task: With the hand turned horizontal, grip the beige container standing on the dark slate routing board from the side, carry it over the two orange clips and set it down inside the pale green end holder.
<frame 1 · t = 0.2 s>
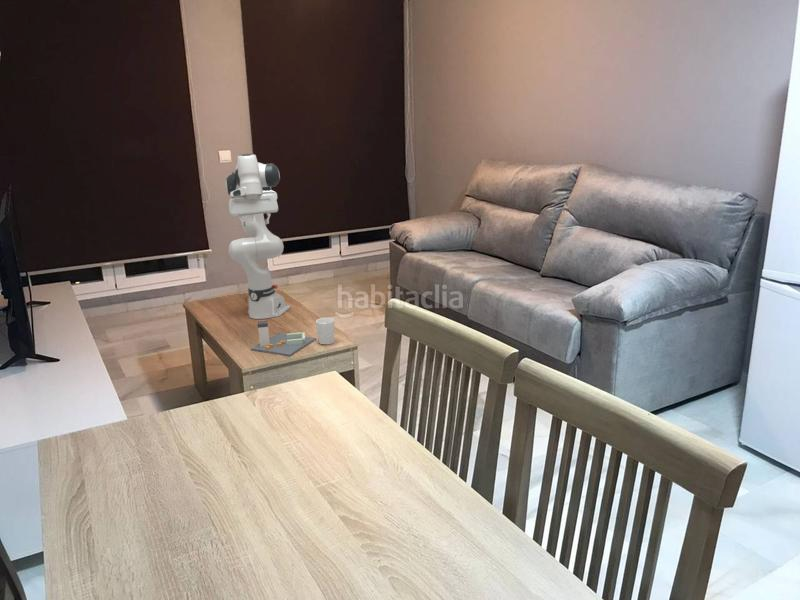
hand: (255, 225, 273), 52 cm above the table, tool tilted 20°, fingers open, 8 cm apart
routing board: (284, 344, 283), on the table
white cup: (326, 342, 284), on the table
beige container: (265, 344, 282), point 1 cm above the table, touching routing board
end holder: (295, 342, 285), resting on routing board
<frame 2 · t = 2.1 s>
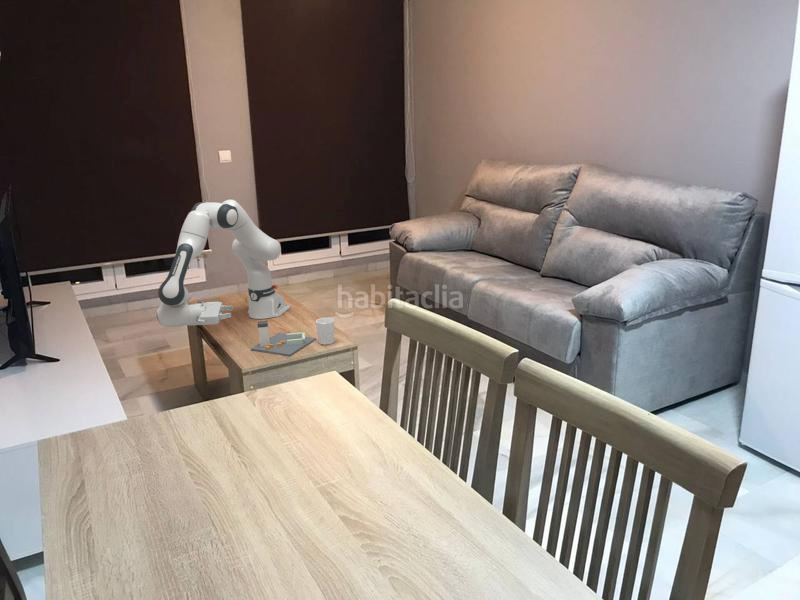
hand: (231, 311, 275), 17 cm above the table, tool horizontal, fingers open, 8 cm apart
nothing on the table moved.
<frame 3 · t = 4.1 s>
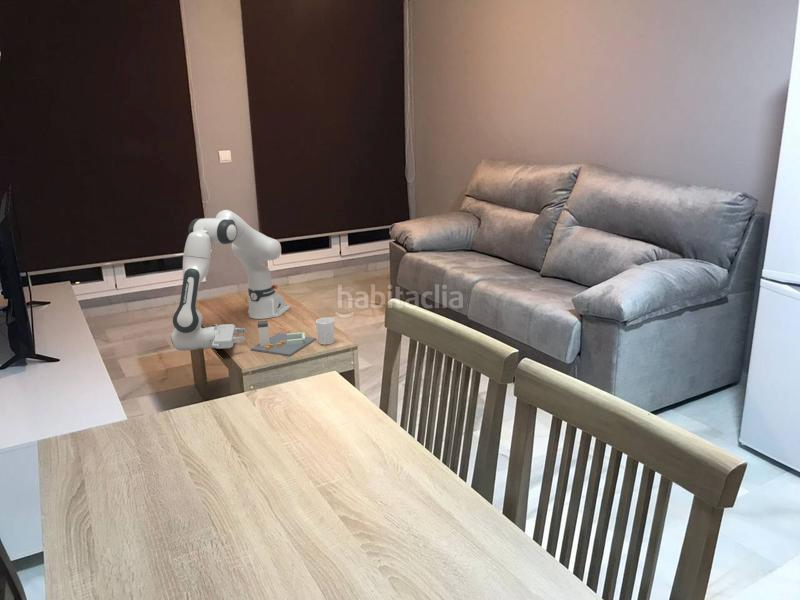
hand: (245, 334, 279), 6 cm above the table, tool horizontal, fingers open, 8 cm apart
nothing on the table moved.
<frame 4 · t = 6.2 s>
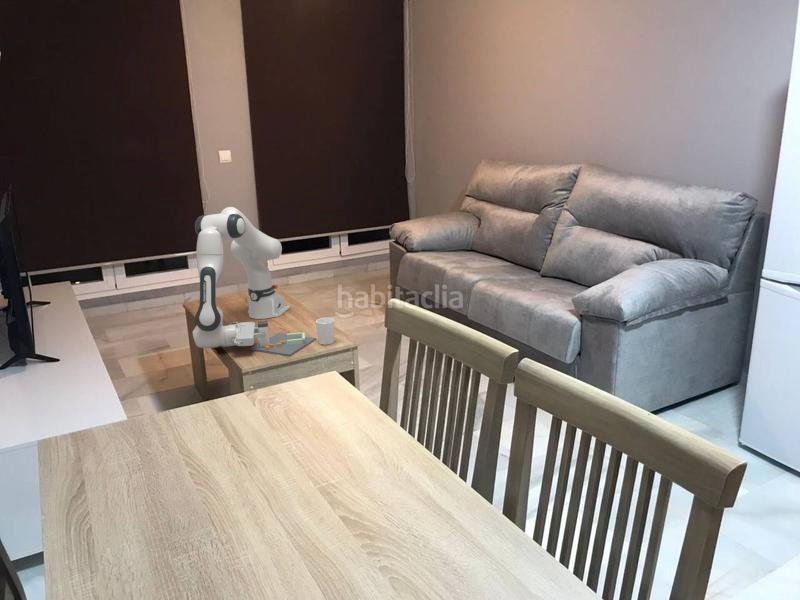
hand: (265, 332, 280), 6 cm above the table, tool horizontal, fingers closed on beige container, 4 cm apart
beige container: (265, 344, 282), point 1 cm above the table, touching gripper, routing board
everything else where it was.
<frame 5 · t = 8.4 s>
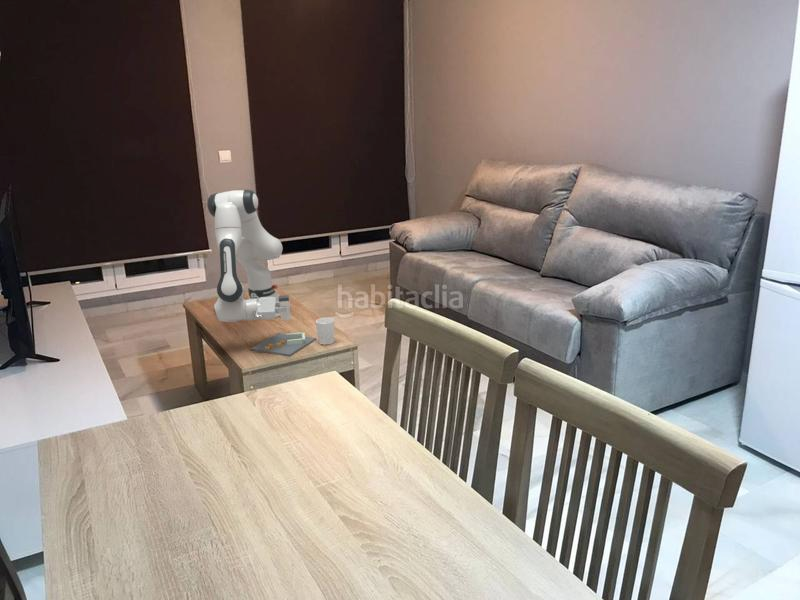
hand: (286, 306, 279), 17 cm above the table, tool horizontal, fingers closed on beige container, 4 cm apart
beige container: (285, 318, 281), point 11 cm above the table, touching gripper
everything else where it was.
when the fingers open (8 cm above the table, at t = 10.8 s): beige container drops 1 cm, resting on routing board.
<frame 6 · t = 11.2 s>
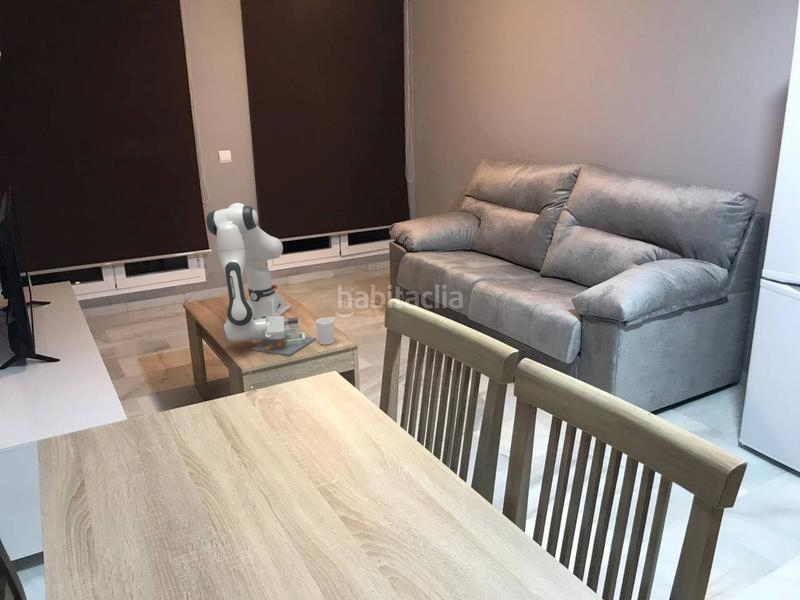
hand: (295, 325, 283), 8 cm above the table, tool horizontal, fingers open, 8 cm apart
beige container: (295, 340, 285), point 1 cm above the table, touching routing board
everything else where it was.
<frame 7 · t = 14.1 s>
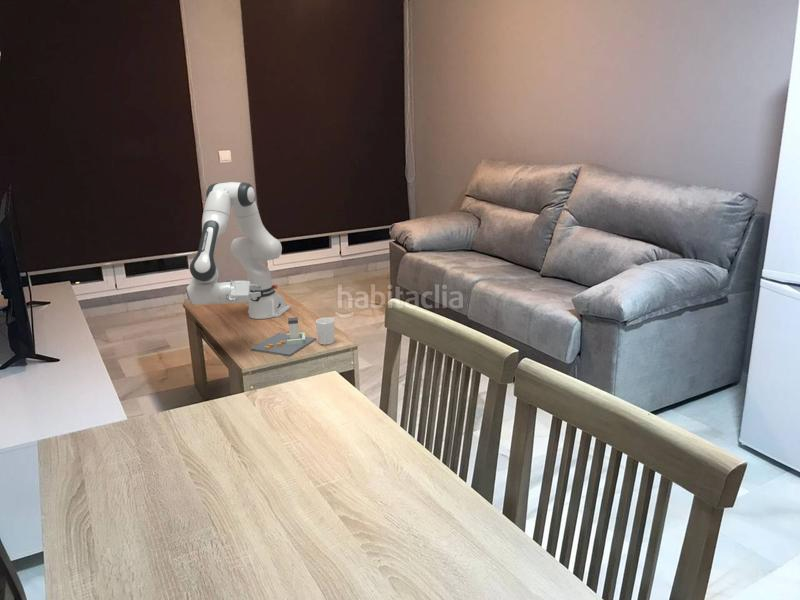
hand: (261, 290, 276), 25 cm above the table, tool horizontal, fingers open, 8 cm apart
nothing on the table moved.
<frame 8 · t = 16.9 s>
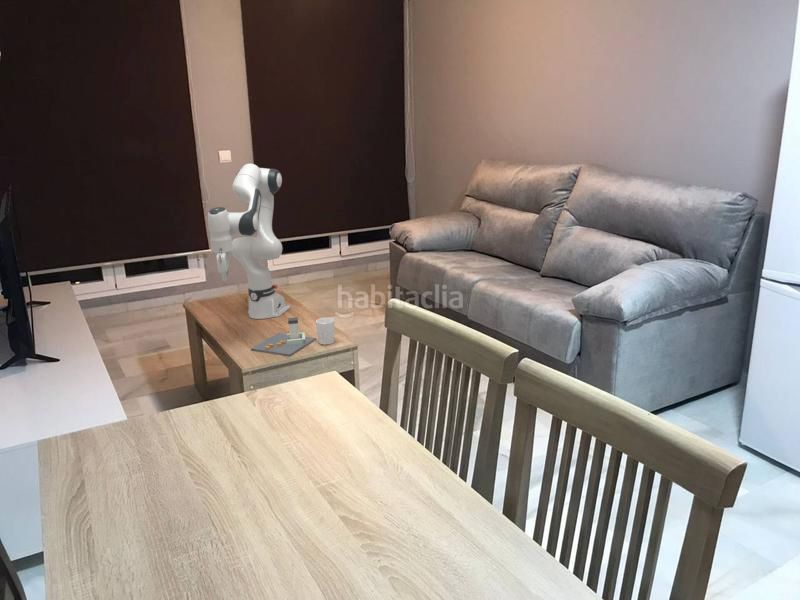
hand: (225, 278, 281), 29 cm above the table, tool pointing down, fingers open, 8 cm apart
nothing on the table moved.
at the end: beige container 0.0 cm from the end holder (horizontally); beige container tilted 0°; beige container point 0.8 cm above the table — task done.
